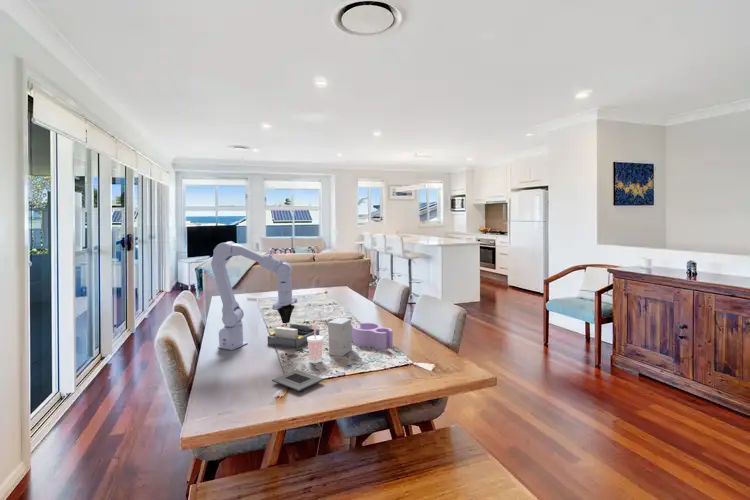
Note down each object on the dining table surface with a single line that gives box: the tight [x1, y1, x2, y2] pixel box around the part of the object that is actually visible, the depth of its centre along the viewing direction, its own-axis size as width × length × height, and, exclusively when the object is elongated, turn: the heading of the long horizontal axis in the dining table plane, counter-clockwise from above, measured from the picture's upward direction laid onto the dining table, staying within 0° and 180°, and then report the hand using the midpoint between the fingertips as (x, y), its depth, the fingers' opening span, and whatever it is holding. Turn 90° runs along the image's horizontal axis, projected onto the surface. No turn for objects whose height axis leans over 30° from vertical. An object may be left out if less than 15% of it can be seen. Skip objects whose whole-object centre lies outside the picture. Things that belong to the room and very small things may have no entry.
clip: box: [351, 321, 394, 350], centre depth 175 cm, size 20×12×7 cm, turn 47°
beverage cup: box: [307, 324, 324, 364], centre depth 154 cm, size 6×6×14 cm
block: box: [274, 326, 298, 340], centre depth 174 cm, size 2×10×7 cm, turn 66°
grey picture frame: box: [271, 369, 324, 392], centre depth 134 cm, size 13×10×2 cm
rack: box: [267, 321, 320, 350], centre depth 179 cm, size 17×15×6 cm
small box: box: [327, 317, 353, 357], centre depth 163 cm, size 8×6×13 cm
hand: (286, 322), depth 173 cm, fingers closed
